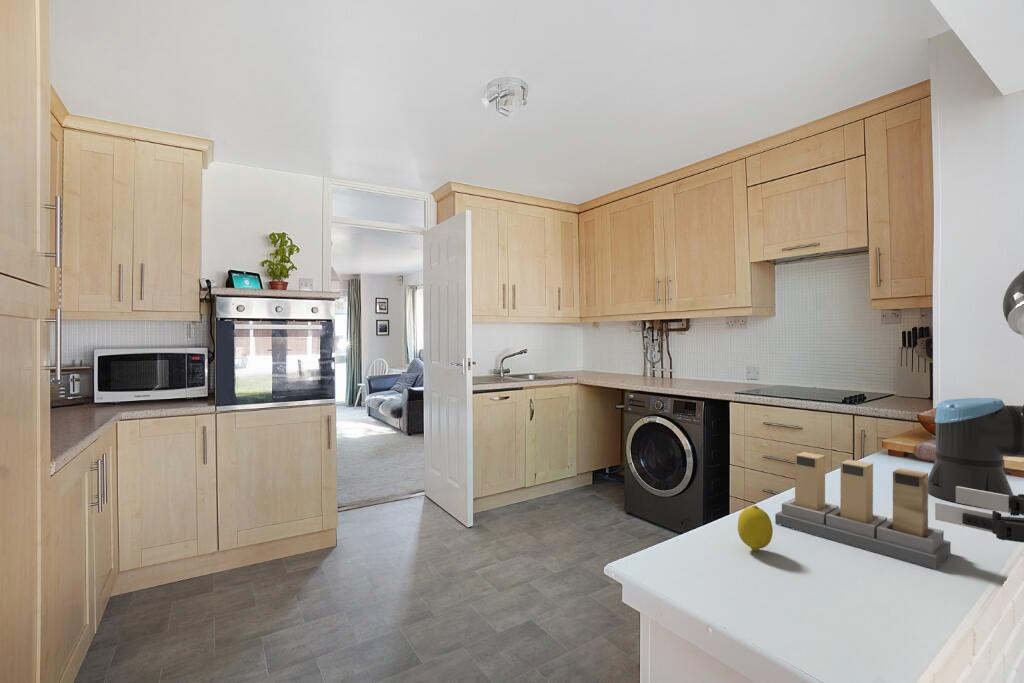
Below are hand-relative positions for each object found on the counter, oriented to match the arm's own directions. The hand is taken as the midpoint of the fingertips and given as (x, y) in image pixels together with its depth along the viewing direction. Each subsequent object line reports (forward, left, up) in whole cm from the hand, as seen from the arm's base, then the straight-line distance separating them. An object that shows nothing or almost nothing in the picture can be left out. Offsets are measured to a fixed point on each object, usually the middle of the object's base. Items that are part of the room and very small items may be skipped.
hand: (946, 501), depth 82 cm
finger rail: (0, -13, -10) cm, 16 cm away
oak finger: (0, -5, -8) cm, 10 cm away
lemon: (+21, -22, -10) cm, 32 cm away
